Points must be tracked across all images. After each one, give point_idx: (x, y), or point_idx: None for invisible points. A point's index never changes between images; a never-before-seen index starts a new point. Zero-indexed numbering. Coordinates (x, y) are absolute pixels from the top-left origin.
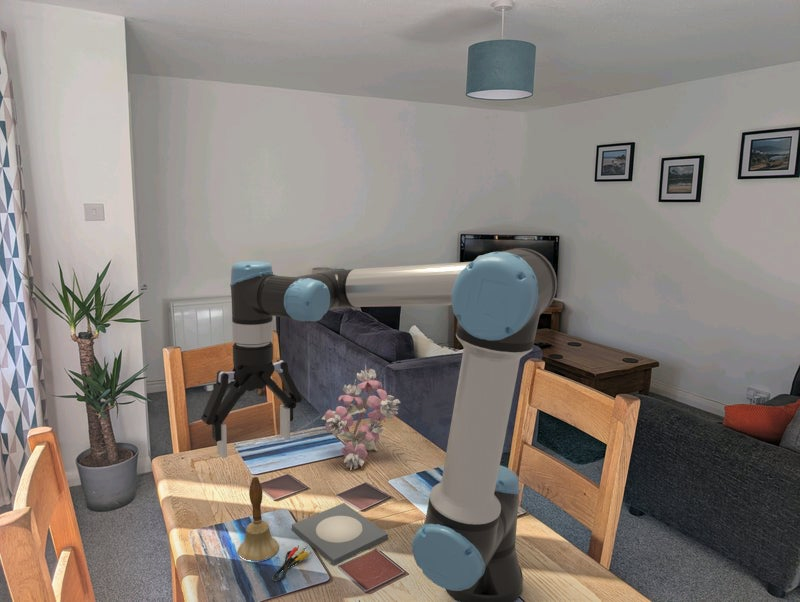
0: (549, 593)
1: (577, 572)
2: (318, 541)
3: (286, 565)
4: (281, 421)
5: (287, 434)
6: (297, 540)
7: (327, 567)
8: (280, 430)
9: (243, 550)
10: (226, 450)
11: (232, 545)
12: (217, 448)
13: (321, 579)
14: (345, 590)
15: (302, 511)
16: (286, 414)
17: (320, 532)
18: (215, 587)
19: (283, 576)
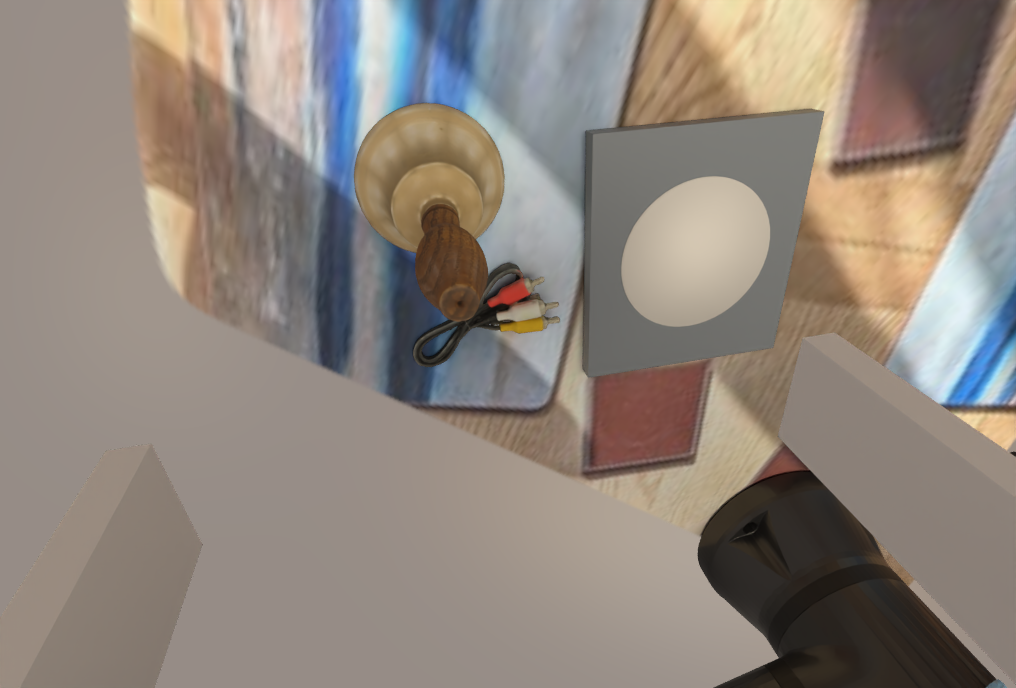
0: None
1: (892, 565)
2: (606, 282)
3: (470, 328)
4: (919, 461)
5: (813, 468)
6: (566, 207)
7: (565, 367)
8: (837, 372)
9: (371, 196)
10: (176, 608)
11: (351, 96)
12: (84, 496)
13: (526, 399)
14: (551, 452)
15: (688, 26)
16: (994, 658)
17: (639, 244)
18: (244, 296)
19: (443, 361)
